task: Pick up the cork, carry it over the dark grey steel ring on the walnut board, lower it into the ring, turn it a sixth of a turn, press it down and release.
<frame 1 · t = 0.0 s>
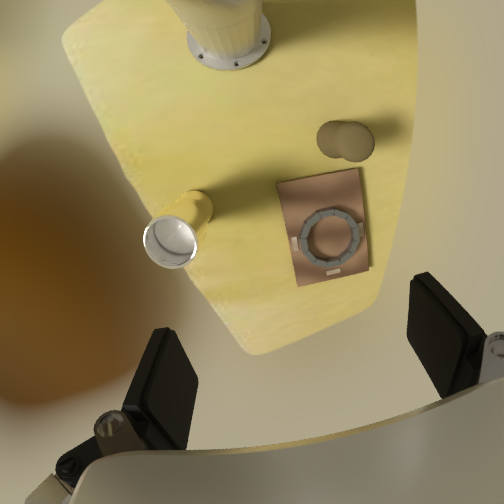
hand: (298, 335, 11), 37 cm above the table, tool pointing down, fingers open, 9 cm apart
hub ring: (327, 233, 48), resting on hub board
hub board: (326, 228, 48), on the table
beer glass: (194, 208, 47), on the table
cork: (335, 139, 42), on the table
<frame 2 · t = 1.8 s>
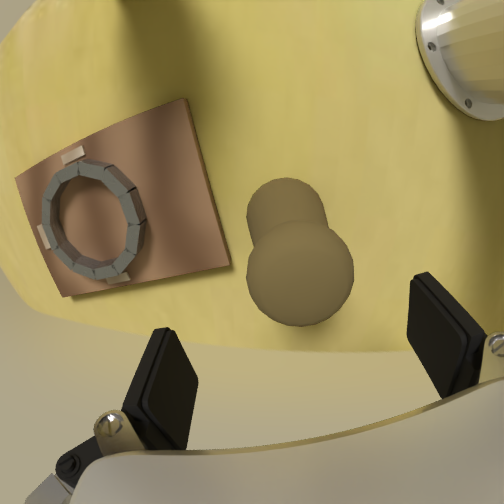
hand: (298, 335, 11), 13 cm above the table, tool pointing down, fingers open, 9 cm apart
hub ring: (100, 213, 23), resting on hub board
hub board: (109, 210, 23), on the table
cork: (285, 215, 23), on the table
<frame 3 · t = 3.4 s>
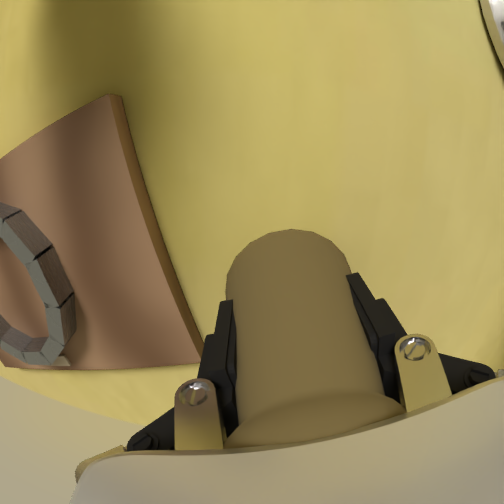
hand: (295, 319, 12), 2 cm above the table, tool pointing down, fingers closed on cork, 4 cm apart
hub ring: (23, 274, 14), resting on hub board
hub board: (32, 271, 14), on the table
cork: (289, 288, 14), on the table, touching gripper
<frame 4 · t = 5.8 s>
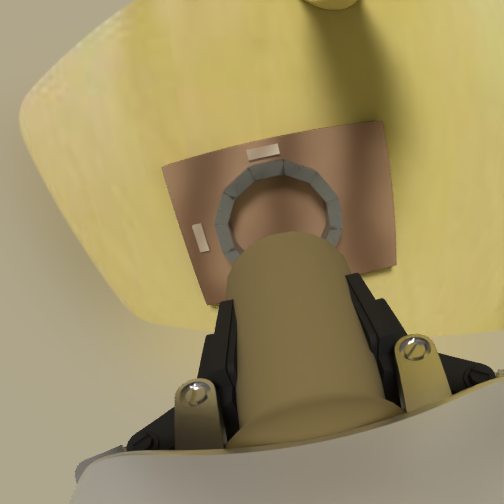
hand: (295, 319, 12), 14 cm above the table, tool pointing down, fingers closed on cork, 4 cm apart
hub ring: (277, 215, 25), resting on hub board
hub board: (289, 213, 25), on the table
cork: (289, 290, 14), point 12 cm above the table, touching gripper
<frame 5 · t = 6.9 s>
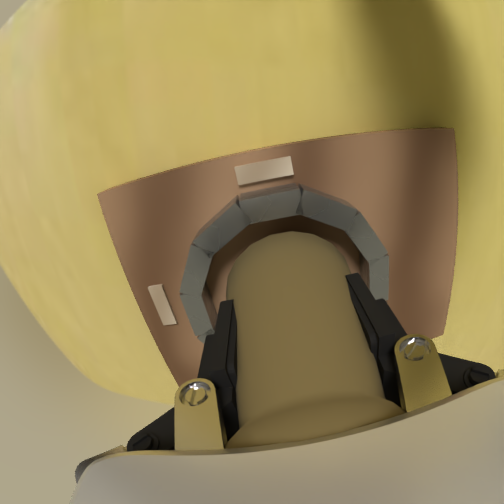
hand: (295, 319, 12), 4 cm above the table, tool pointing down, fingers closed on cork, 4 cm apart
hub ring: (284, 272, 16), resting on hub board
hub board: (302, 268, 15), on the table
cork: (289, 290, 14), point 2 cm above the table, touching gripper
when the fingers open (4 cm above the table, at t = 8.1 s): cork stays where it is, resting on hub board.
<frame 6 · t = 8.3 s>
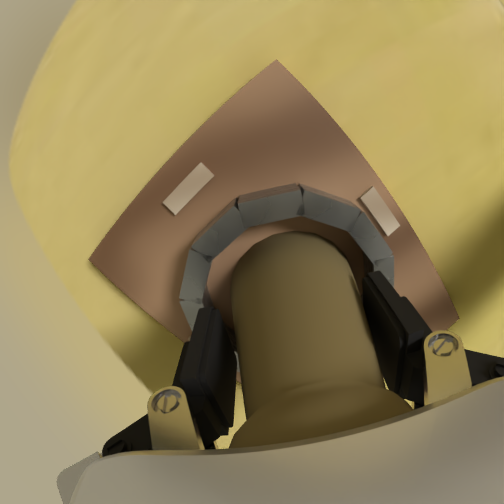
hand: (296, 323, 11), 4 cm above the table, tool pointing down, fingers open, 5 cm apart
hub ring: (286, 275, 15), resting on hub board
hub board: (298, 287, 15), on the table
cork: (292, 288, 14), point 1 cm above the table, touching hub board
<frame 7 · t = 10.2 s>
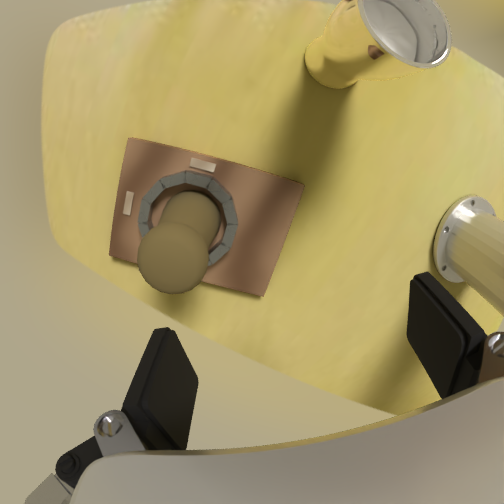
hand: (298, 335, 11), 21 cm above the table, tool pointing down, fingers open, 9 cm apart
hub ring: (190, 215, 30), resting on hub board
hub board: (199, 217, 30), on the table
beer glass: (332, 62, 24), on the table
cork: (191, 218, 29), point 1 cm above the table, touching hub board
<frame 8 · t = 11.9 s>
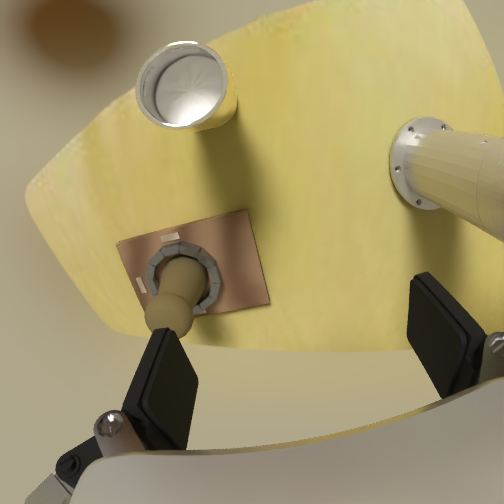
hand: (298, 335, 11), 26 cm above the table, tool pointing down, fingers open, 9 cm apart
hub ring: (186, 272, 39), resting on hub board
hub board: (193, 270, 39), on the table
beer glass: (211, 103, 31), on the table
cork: (186, 275, 38), point 1 cm above the table, touching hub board
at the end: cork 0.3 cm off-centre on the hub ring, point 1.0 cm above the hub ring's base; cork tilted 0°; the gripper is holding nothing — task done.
